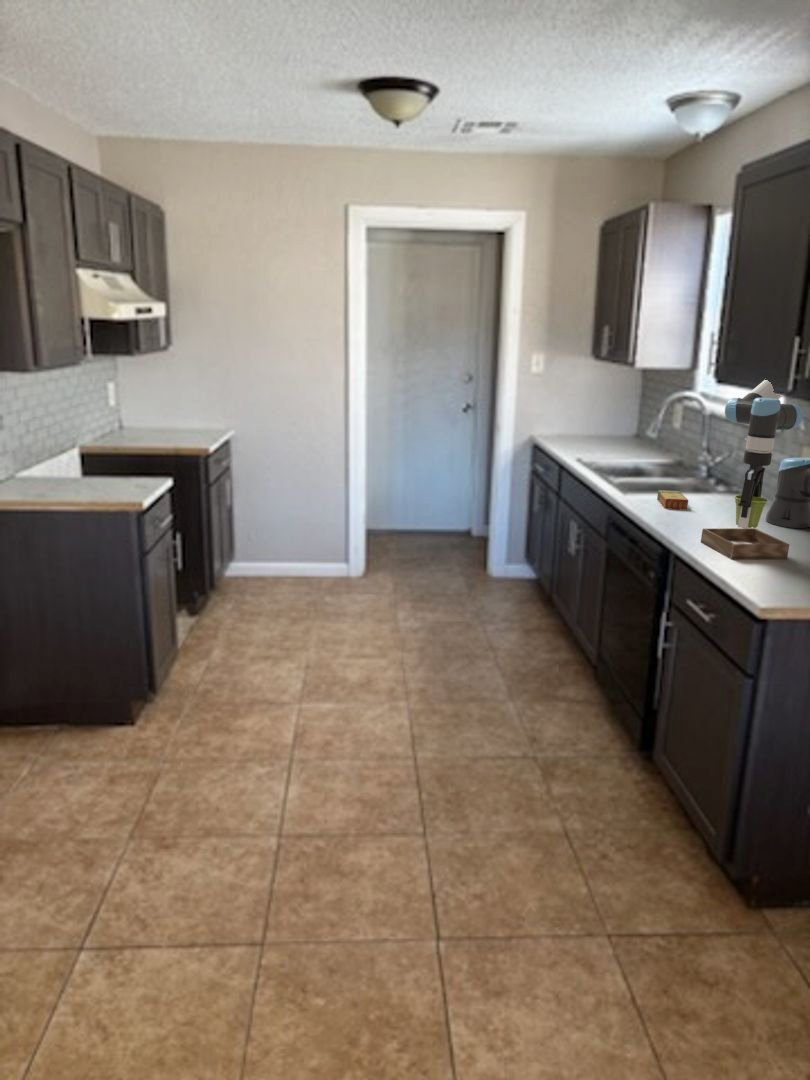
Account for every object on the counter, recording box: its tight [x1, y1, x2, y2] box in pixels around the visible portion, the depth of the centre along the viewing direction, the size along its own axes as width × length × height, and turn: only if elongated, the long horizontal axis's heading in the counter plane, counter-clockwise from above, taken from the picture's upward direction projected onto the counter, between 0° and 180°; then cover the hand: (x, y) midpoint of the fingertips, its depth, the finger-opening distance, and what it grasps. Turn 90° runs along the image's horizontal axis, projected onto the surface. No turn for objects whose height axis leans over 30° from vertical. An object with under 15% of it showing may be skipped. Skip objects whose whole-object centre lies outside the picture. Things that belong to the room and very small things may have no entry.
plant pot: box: [733, 494, 769, 529], centre depth 249 cm, size 9×9×9 cm
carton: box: [656, 489, 689, 510], centre depth 310 cm, size 8×16×4 cm, turn 174°
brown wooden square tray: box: [700, 527, 791, 560], centre depth 252 cm, size 18×18×4 cm
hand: (746, 524), depth 250 cm, fingers closed on plant pot, 8 cm apart
